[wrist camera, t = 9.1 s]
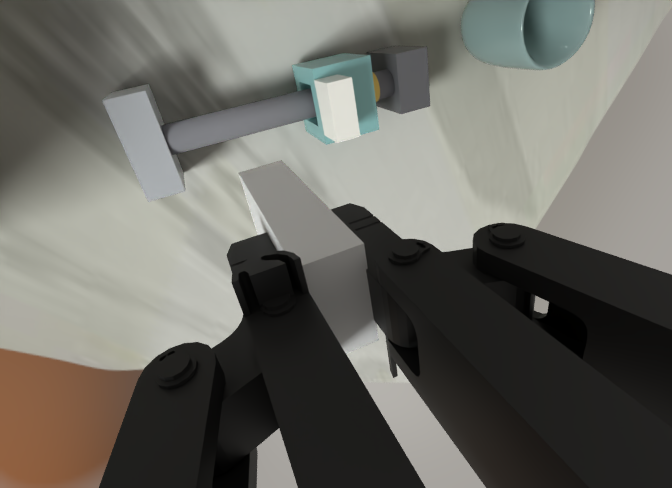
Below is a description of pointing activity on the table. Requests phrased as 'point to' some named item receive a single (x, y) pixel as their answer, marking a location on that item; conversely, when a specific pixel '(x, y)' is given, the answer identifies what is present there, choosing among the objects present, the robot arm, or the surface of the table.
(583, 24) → the cup
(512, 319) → the robot arm
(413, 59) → the block
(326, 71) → the sleeve
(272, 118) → the grey rod
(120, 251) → the table surface
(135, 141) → the grey slab
